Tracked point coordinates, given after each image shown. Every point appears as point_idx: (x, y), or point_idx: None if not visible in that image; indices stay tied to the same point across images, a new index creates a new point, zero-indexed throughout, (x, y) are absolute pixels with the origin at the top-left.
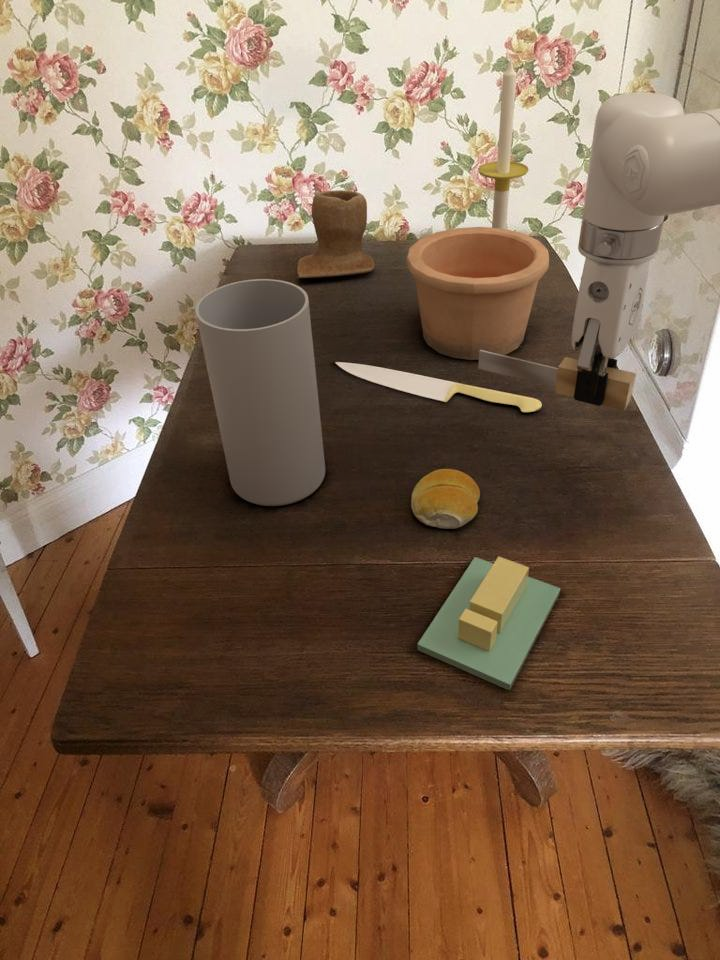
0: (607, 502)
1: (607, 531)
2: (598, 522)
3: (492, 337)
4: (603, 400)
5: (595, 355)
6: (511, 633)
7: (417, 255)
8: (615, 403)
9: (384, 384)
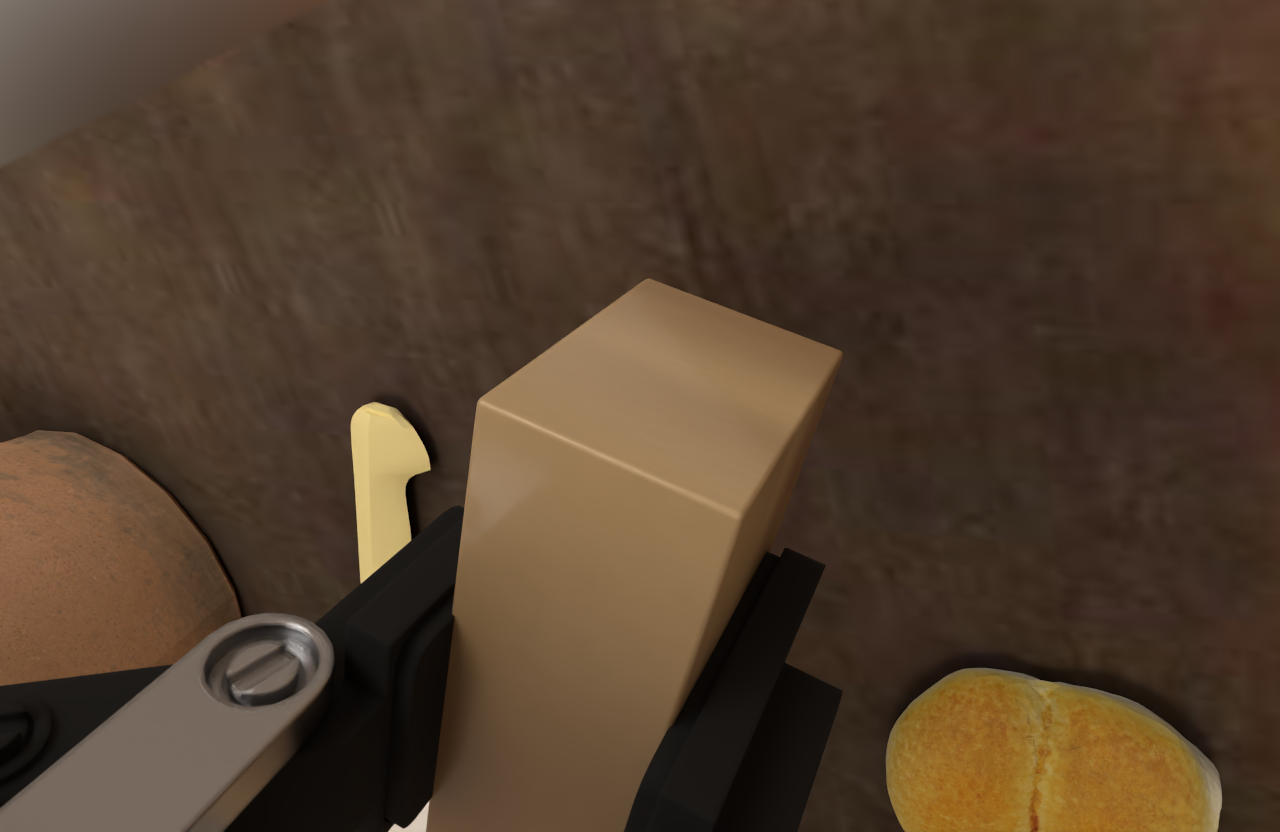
0: (935, 125)
1: (1188, 121)
2: (1109, 169)
3: (135, 587)
4: (783, 563)
5: (367, 814)
6: None
7: None
8: (800, 458)
9: None
